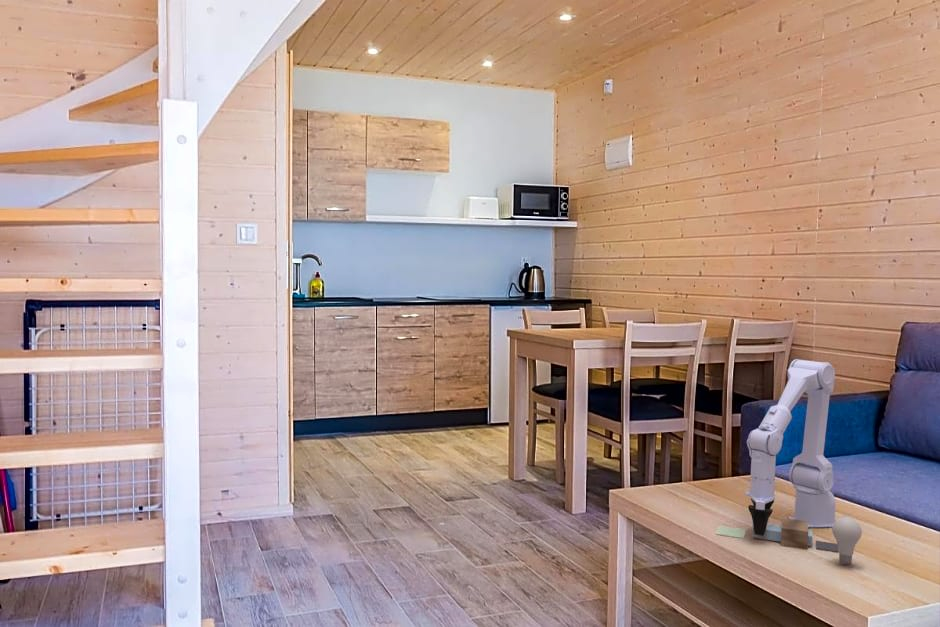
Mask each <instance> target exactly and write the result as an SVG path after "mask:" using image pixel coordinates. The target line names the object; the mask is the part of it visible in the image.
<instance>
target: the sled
mask: <svg viewBox="0 0 940 627" xmlns="http://www.w3.org/2000/svg"><path fill="white" fill-rule="evenodd" d="M781 528H782V525H777V524H776V525H775V524H770V523H769V519H768V522H767V526H766V530H765V534H764V536H762V535H755V532H754V526H753V525H752V529H751V530H752V531H751V533H752V534H751V538H753V539H761V540H768V541H775V542H780V543H781ZM808 547H813V530H812V529H808Z"/></svg>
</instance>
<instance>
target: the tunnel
mask: <svg viewBox="0 0 940 627" xmlns="http://www.w3.org/2000/svg"><path fill="white" fill-rule="evenodd" d="M781 526H782V528H781V542H780V546H781V547H787V548H788V547H789V548H794V549H800V550H801V549H802V550H807V551H808V547H809V546H808V530H809V527H808V521H802V520H794V519H788V517H787V518H786V517H782V520H781Z"/></svg>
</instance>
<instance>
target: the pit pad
mask: <svg viewBox="0 0 940 627" xmlns="http://www.w3.org/2000/svg"><path fill="white" fill-rule="evenodd" d="M815 548H816V550H818V551H819V550H820V551H826V552H832V553H833V552H834V553H838V554H839V552H838V544H837V542H836V543H835V542H827V541H821V540H815Z"/></svg>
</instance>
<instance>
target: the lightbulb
mask: <svg viewBox="0 0 940 627" xmlns="http://www.w3.org/2000/svg"><path fill="white" fill-rule="evenodd" d="M831 531H832V534H833V537H834V539H835V541H836V544H838V552H839V553H838V552H837V553H838V559H839V562H840V563H842V564H843V565H844V566H847V565H848V566H849V565H850V564H851V563H852V560H853V555H854V552H855V551H854V550H855V547H856V545H857V544H858V542H859V541H860V539H861V537H862V527H861V525H860V524H859V522H858V521H857V520H856V519H854V518H852V517H848V516H841V517H838V518H837V519H835V522H834V524H833V526H832V527H831Z"/></svg>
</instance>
